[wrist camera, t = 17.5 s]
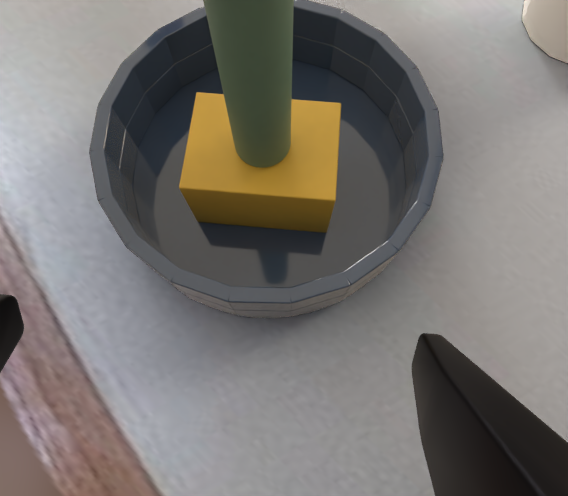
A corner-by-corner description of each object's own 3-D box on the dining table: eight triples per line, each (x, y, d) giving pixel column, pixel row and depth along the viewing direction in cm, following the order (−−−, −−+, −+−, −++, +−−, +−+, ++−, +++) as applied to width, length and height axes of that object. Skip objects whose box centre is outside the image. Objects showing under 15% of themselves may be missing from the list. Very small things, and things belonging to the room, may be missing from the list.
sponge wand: (326, 233, 19) (555, -586, 3) (197, 222, 19) (-261, -606, 3) (332, 149, 20) (509, -731, 4) (210, 139, 21) (-60, -740, 4)
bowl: (299, 386, 18) (303, 387, 14) (64, 199, 20) (16, 160, 17) (467, 149, 21) (505, 101, 17) (247, 16, 24) (240, -50, 20)
